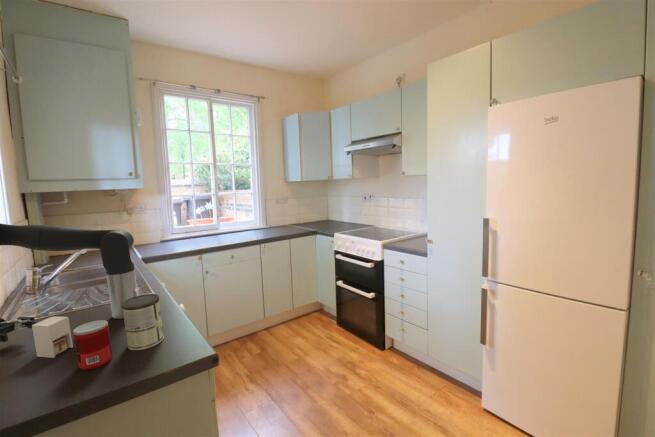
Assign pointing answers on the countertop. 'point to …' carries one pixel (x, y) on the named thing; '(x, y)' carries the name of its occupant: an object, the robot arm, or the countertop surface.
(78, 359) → the canned food
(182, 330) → the countertop surface
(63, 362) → the countertop surface
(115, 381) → the countertop surface
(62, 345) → the letter block
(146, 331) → the coffee can
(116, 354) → the countertop surface
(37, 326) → the cover
